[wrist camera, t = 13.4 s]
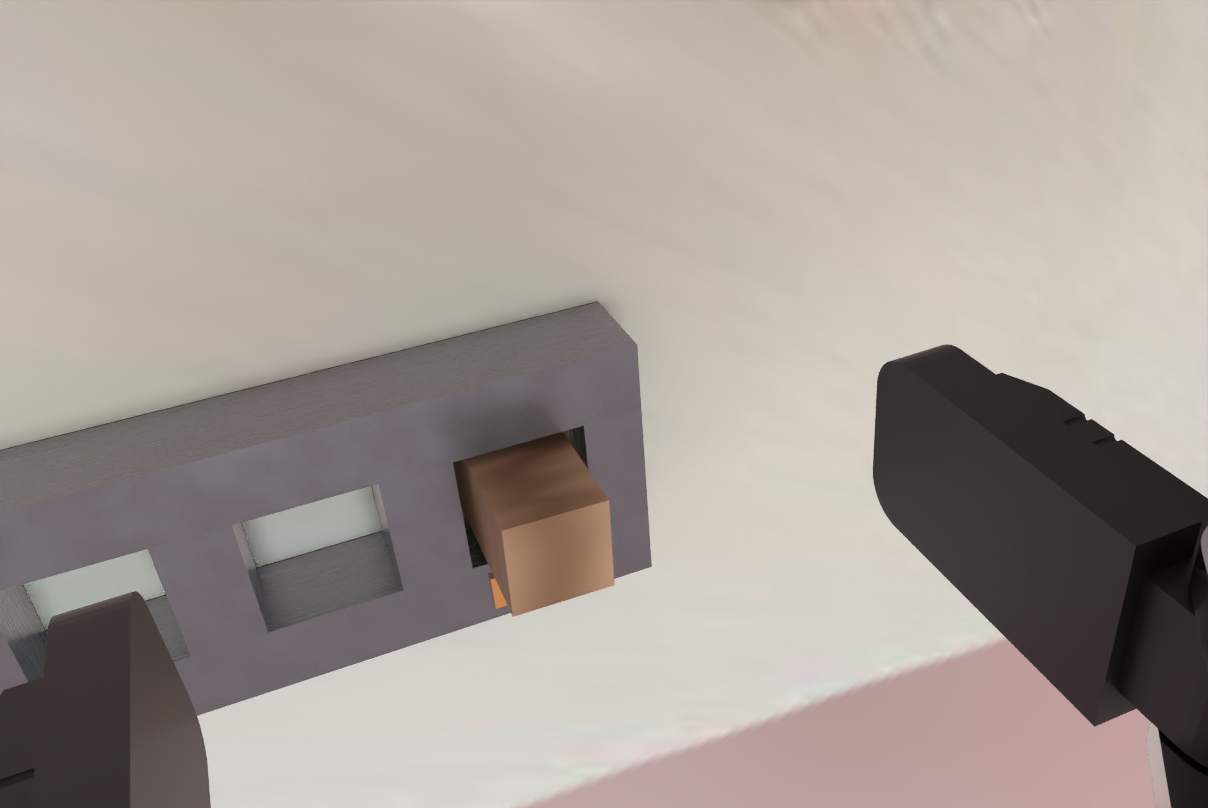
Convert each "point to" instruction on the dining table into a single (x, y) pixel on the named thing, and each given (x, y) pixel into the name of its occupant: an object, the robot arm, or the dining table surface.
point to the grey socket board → (314, 472)
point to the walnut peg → (538, 521)
